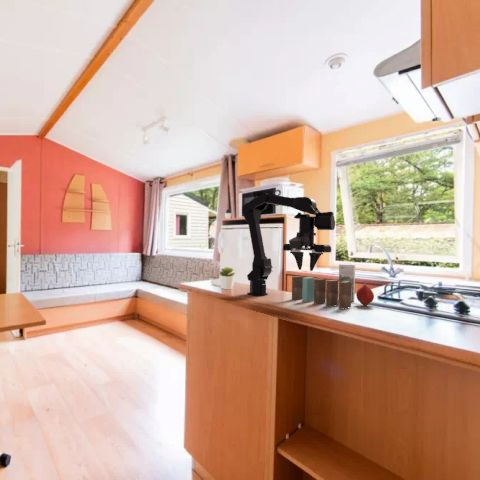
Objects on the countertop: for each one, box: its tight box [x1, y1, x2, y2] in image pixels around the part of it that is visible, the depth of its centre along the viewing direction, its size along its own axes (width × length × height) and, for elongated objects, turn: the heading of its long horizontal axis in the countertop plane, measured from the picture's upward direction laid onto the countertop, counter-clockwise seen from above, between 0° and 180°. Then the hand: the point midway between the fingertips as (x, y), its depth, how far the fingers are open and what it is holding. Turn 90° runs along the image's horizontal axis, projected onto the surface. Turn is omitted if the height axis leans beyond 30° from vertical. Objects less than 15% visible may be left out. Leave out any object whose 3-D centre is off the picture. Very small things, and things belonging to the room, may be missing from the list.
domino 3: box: [313, 278, 327, 305], centre depth 111 cm, size 2×5×9 cm, turn 134°
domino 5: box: [338, 281, 352, 310], centre depth 104 cm, size 2×5×9 cm, turn 133°
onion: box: [356, 283, 375, 307], centre depth 108 cm, size 6×6×8 cm
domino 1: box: [291, 275, 304, 301], centre depth 119 cm, size 2×5×9 cm, turn 134°
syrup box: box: [338, 262, 356, 302], centre depth 120 cm, size 6×6×14 cm
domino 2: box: [301, 276, 315, 303], centre depth 115 cm, size 2×5×9 cm, turn 134°
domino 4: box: [325, 279, 339, 307], centre depth 108 cm, size 2×5×9 cm, turn 134°
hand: (305, 270), depth 116 cm, fingers open, 5 cm apart
